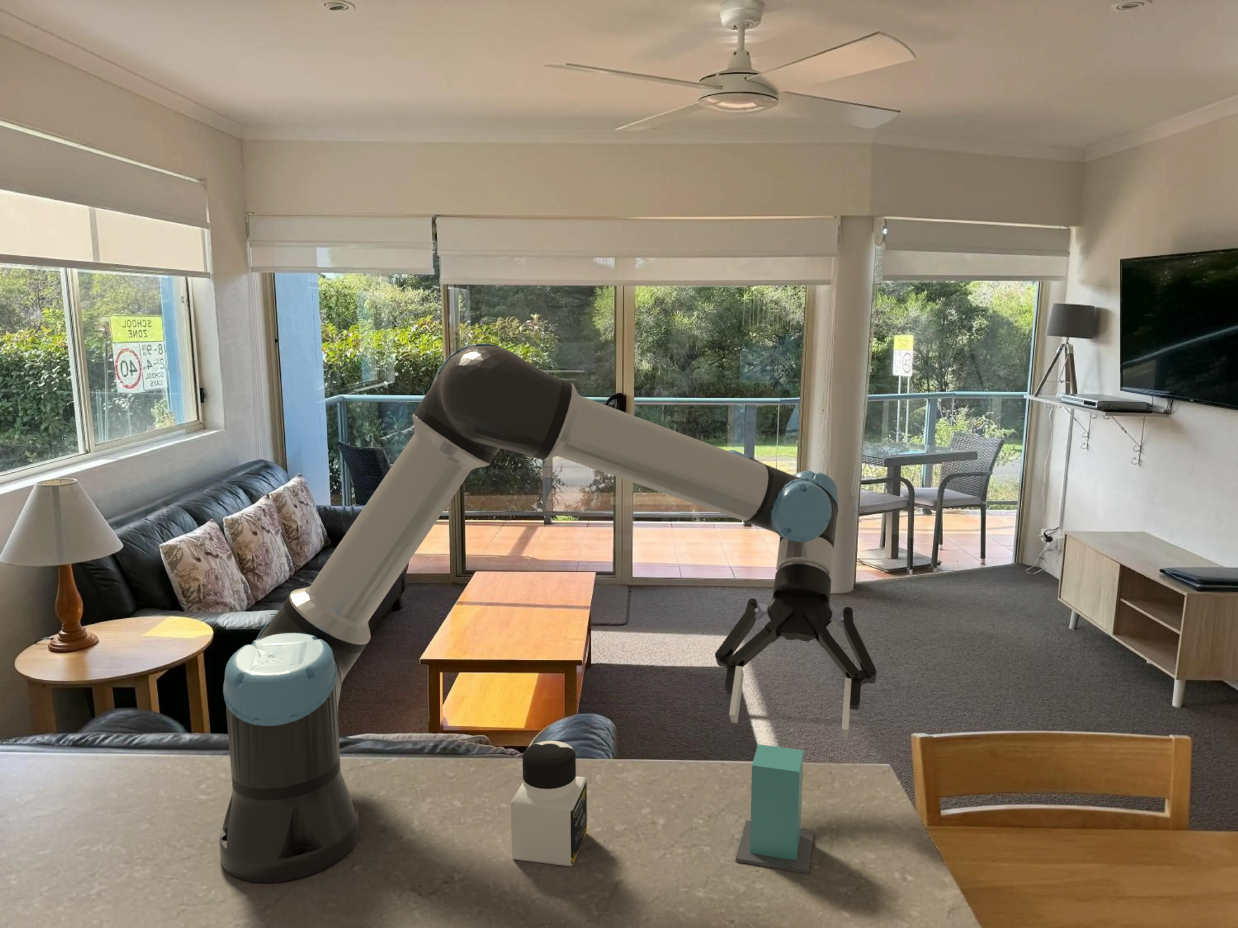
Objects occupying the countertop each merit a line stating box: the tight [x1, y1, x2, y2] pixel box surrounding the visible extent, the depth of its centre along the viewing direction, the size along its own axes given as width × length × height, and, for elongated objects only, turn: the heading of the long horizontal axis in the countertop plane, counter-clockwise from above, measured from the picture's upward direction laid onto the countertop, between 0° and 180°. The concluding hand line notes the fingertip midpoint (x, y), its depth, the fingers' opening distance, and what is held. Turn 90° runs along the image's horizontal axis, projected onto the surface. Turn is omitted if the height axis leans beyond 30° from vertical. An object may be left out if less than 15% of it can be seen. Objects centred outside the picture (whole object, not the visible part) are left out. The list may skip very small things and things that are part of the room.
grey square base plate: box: [735, 819, 815, 874], centre depth 101 cm, size 8×8×7 cm
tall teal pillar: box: [750, 743, 804, 861], centre depth 101 cm, size 5×5×11 cm
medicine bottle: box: [510, 740, 588, 867], centre depth 101 cm, size 7×7×12 cm
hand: (788, 726), depth 109 cm, fingers open, 13 cm apart
